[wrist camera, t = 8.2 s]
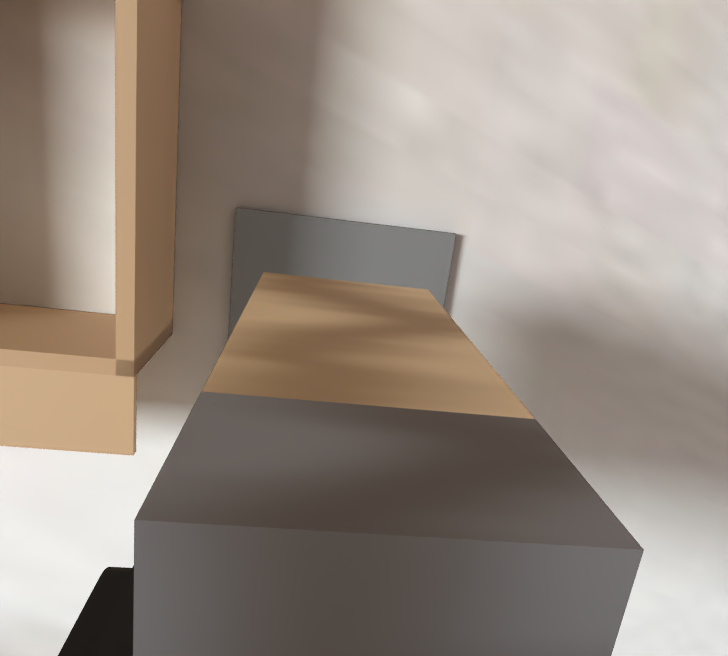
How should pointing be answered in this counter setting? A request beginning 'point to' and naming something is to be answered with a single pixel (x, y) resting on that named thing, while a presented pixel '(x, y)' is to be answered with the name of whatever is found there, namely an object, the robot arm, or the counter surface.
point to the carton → (133, 268)
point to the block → (370, 498)
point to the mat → (334, 253)
